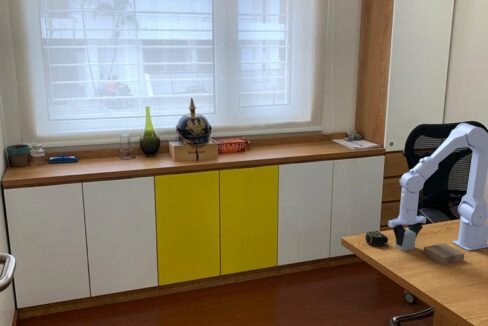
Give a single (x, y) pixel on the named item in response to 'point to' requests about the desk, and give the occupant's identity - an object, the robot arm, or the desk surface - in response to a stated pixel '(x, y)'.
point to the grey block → (408, 240)
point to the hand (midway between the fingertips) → (405, 243)
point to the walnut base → (443, 254)
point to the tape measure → (376, 238)
